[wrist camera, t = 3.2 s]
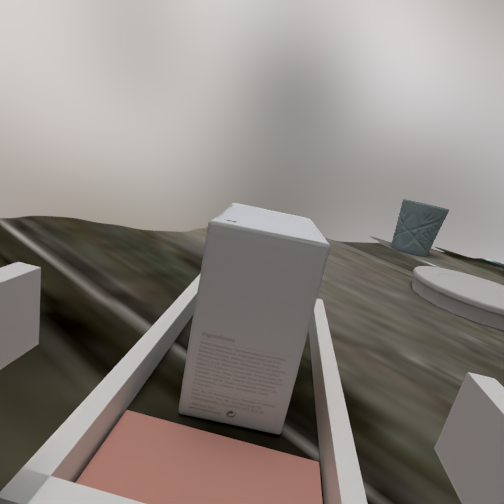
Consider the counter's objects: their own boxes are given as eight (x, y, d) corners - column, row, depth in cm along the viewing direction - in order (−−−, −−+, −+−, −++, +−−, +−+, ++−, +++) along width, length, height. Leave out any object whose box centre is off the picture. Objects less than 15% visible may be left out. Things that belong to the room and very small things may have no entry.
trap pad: (53, 521, 11) (54, 512, 11) (125, 416, 16) (126, 410, 16) (327, 604, 11) (330, 596, 10) (316, 468, 15) (318, 462, 15)
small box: (280, 440, 17) (334, 245, 14) (174, 416, 17) (207, 217, 14) (279, 353, 24) (313, 217, 22) (206, 337, 24) (231, 200, 22)
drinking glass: (382, 242, 86) (397, 197, 83) (420, 250, 86) (435, 205, 83) (397, 252, 76) (414, 201, 73) (439, 261, 76) (458, 211, 73)
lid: (494, 294, 57) (501, 278, 56) (582, 354, 38) (595, 331, 37) (393, 270, 59) (398, 254, 58) (427, 314, 40) (436, 292, 39)
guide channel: (-4, 543, 10) (-4, 496, 10) (199, 289, 33) (202, 271, 32) (371, 660, 10) (392, 615, 9) (317, 318, 32) (322, 299, 31)
